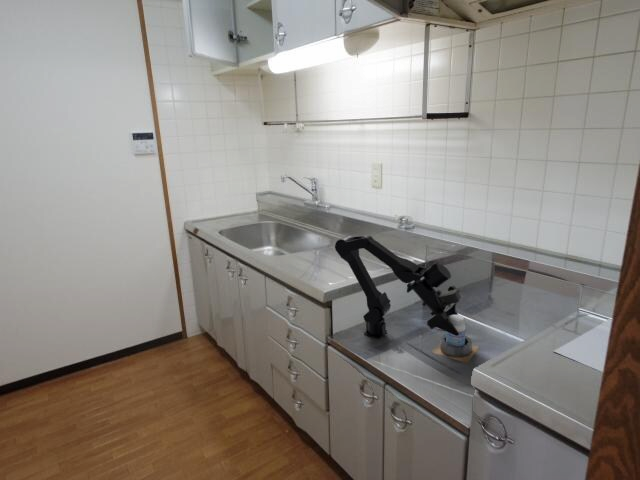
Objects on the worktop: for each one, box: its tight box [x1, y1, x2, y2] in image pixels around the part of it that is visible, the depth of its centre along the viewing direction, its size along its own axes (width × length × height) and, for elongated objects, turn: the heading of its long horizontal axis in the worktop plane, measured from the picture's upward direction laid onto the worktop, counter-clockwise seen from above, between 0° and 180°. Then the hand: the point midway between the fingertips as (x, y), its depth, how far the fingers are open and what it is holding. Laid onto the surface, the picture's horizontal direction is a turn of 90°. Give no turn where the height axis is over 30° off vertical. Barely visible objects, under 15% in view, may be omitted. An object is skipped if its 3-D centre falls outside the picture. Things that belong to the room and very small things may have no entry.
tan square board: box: [431, 343, 480, 364], centre depth 136 cm, size 12×12×1 cm
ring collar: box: [439, 334, 473, 358], centre depth 135 cm, size 10×10×4 cm
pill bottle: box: [445, 314, 467, 346], centre depth 134 cm, size 6×6×11 cm
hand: (460, 330), depth 133 cm, fingers closed on pill bottle, 6 cm apart
